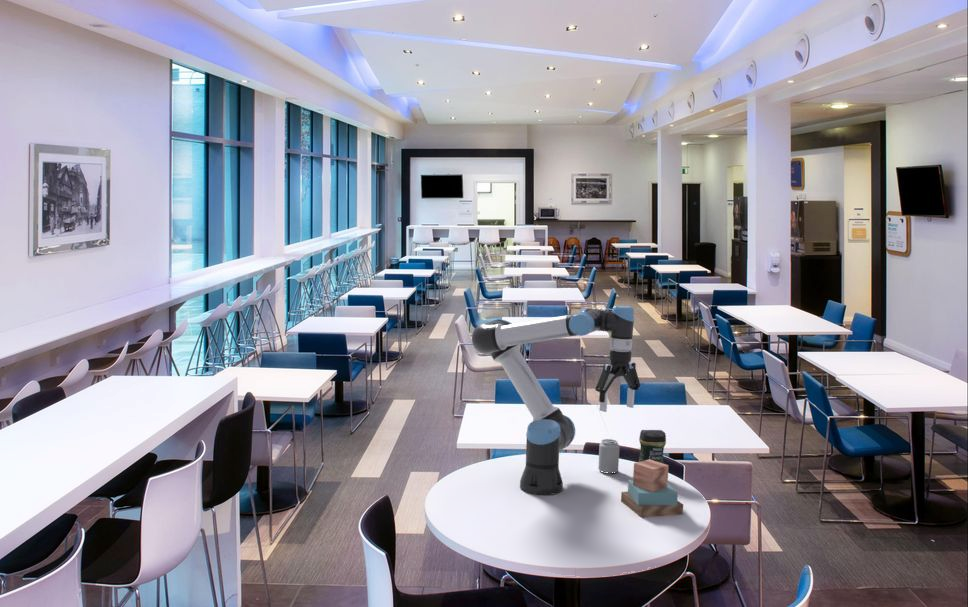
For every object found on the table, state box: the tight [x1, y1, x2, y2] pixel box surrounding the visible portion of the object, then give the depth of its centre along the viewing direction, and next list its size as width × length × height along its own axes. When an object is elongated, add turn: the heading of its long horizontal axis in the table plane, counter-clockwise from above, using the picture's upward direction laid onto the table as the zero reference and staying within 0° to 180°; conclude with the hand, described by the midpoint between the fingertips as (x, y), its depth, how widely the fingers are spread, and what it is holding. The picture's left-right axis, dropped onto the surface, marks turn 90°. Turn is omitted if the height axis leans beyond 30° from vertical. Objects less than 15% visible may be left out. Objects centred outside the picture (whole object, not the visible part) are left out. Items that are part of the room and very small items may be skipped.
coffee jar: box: [638, 429, 667, 464], centre depth 291 cm, size 10×8×19 cm
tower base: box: [620, 490, 684, 518], centre depth 261 cm, size 15×15×4 cm
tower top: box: [627, 479, 679, 505], centre depth 261 cm, size 13×13×4 cm
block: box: [632, 459, 670, 492], centre depth 260 cm, size 8×8×8 cm
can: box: [597, 438, 620, 474], centre depth 298 cm, size 8×8×12 cm
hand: (616, 409), depth 277 cm, fingers open, 13 cm apart
